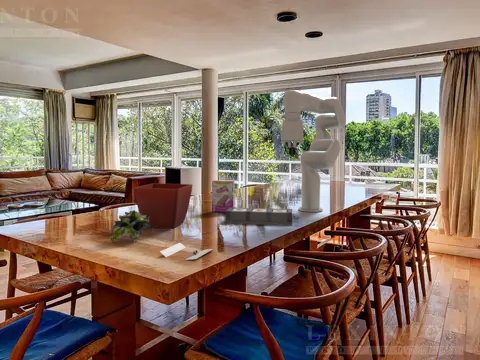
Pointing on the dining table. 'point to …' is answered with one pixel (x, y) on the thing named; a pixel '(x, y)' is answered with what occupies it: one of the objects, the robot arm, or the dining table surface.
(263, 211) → the key terracotta
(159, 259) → the dining table surface
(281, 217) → the grey button panel
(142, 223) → the green leaves
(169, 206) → the plant pot
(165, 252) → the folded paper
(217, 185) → the candy bar box
